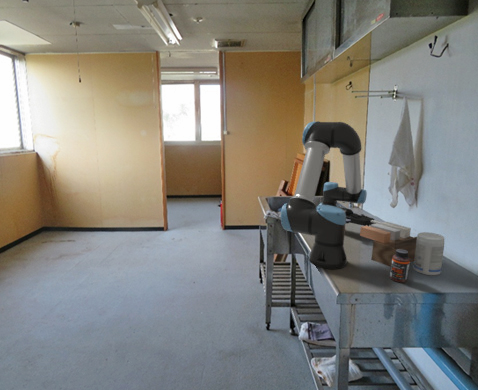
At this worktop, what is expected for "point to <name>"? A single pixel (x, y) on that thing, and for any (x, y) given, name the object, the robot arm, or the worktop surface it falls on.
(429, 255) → the supplement tub
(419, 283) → the worktop surface
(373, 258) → the walnut key block
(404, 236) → the off-white bar
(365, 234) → the orange rectangular bar
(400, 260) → the supplement bottle
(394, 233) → the gray bar
